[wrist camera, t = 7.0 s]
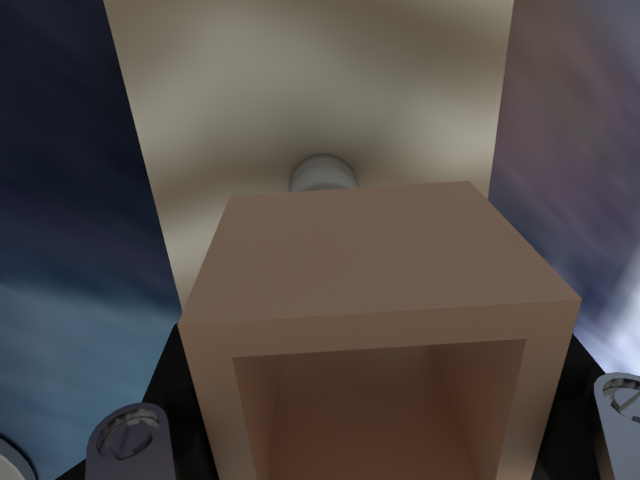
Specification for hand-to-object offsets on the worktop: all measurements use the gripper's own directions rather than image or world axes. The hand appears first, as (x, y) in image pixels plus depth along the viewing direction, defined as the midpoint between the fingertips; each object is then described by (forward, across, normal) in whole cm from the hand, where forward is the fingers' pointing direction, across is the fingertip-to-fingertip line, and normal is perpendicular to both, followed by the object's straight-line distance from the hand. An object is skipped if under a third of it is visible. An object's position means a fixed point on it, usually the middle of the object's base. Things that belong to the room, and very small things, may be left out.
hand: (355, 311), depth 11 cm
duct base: (+12, 0, 0) cm, 12 cm away
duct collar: (+1, 0, 0) cm, 1 cm away
